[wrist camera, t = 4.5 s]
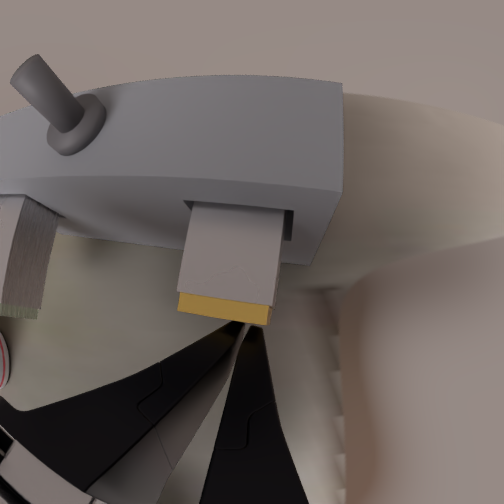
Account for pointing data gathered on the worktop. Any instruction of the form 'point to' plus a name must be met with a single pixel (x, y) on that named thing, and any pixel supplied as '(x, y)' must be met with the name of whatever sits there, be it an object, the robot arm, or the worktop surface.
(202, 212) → the mustard button
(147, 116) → the switch panel
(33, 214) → the green button
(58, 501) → the robot arm
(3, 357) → the pill bottle
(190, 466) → the worktop surface
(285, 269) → the worktop surface
